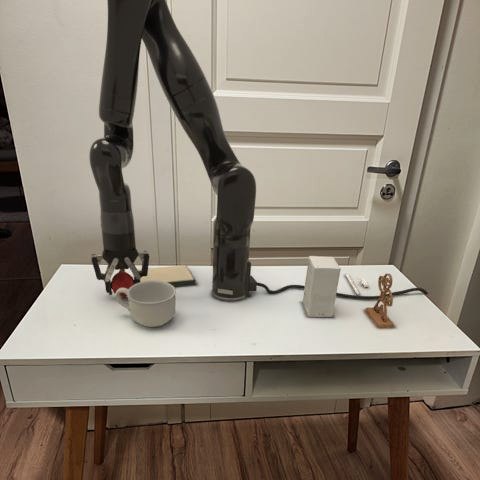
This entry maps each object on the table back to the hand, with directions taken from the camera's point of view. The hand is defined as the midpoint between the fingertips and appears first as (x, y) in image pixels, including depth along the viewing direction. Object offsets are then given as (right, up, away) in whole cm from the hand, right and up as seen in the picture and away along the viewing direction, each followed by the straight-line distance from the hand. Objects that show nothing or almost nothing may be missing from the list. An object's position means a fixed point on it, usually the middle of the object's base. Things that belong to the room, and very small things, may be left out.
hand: (123, 292), depth 109 cm
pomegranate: (0, -2, +1) cm, 2 cm away
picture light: (+64, +3, +15) cm, 65 cm away
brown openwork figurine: (+64, -7, -3) cm, 64 cm away
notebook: (+9, +4, +12) cm, 15 cm away
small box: (+49, -5, 0) cm, 49 cm away
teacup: (+8, -7, -8) cm, 14 cm away
